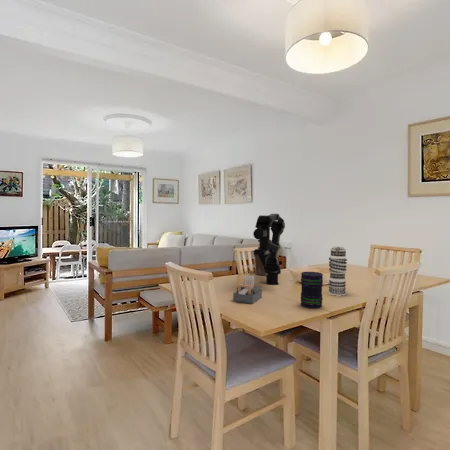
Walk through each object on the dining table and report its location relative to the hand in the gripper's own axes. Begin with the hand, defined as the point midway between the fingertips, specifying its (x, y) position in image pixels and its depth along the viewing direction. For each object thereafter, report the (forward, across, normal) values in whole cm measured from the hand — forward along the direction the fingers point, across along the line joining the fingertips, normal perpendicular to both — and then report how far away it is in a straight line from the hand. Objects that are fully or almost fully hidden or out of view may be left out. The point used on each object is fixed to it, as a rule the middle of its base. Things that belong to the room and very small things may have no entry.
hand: (264, 265), depth 184 cm
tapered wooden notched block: (+9, -27, 0) cm, 28 cm away
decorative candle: (+13, +8, -38) cm, 41 cm away
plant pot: (+13, +41, +14) cm, 45 cm away
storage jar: (+13, -20, -30) cm, 38 cm away
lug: (+9, -28, 0) cm, 30 cm away
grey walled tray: (+13, -24, 0) cm, 27 cm away
